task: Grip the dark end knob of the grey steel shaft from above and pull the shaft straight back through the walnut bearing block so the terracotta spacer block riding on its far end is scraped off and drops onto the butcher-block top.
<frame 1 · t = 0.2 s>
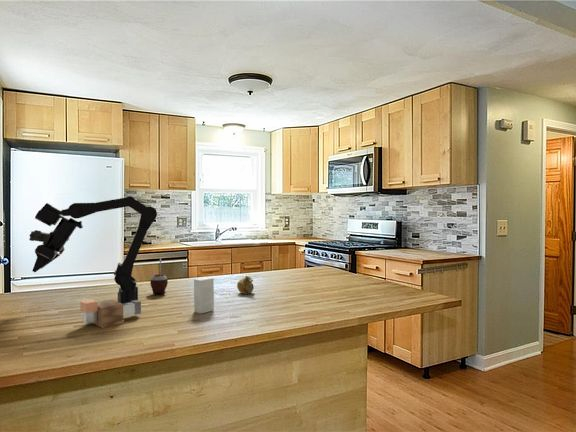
hand: (37, 269, 146), 15 cm above the countertop, tool tilted 30°, fingers open, 9 cm apart
skincare box: (203, 311, 147), on the countertop
bearing block: (106, 322, 133), on the countertop
spacer: (89, 310, 128), point 5 cm above the countertop, touching shaft
onion: (245, 293, 177), on the countertop
shaft: (112, 311, 134), point 3 cm above the countertop, slide at 0.0 cm, touching spacer
mate gourd: (158, 294, 175), on the countertop
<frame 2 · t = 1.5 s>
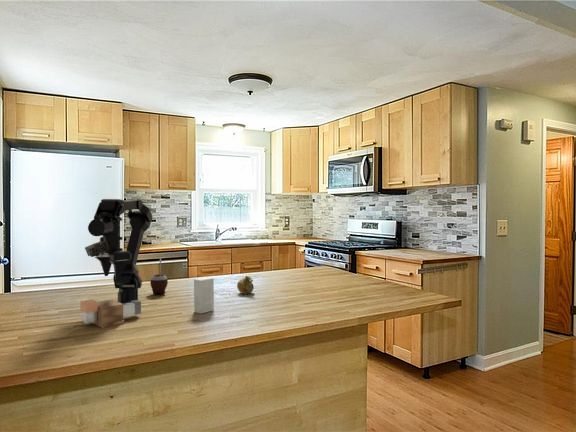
hand: (111, 277, 144), 12 cm above the countertop, tool pointing down, fingers open, 9 cm apart
nothing on the countertop moved.
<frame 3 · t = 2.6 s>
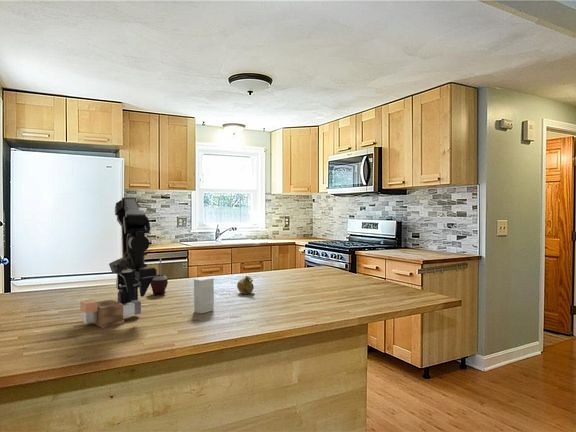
hand: (135, 294, 140), 8 cm above the countertop, tool pointing down, fingers open, 9 cm apart
nothing on the countertop moved.
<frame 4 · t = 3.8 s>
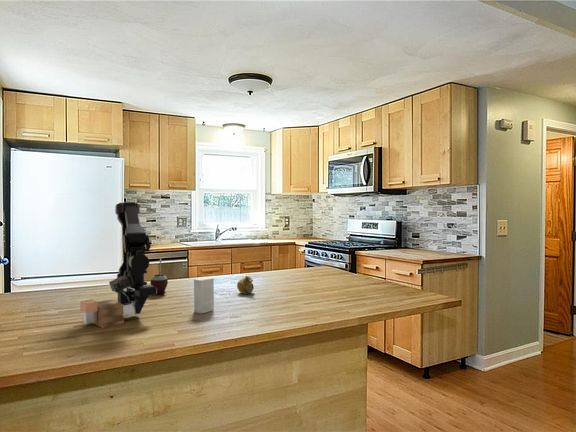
hand: (135, 312, 140), 1 cm above the countertop, tool pointing down, fingers closed on shaft, 3 cm apart
shaft: (112, 311, 134), point 3 cm above the countertop, slide at 0.0 cm, touching gripper, spacer
everything else where it was.
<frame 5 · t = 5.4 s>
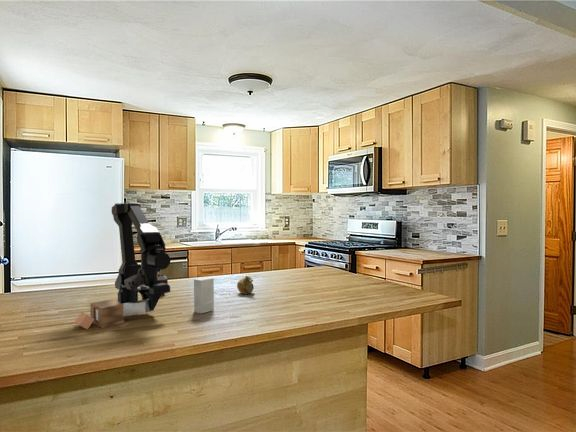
hand: (149, 309, 144), 1 cm above the countertop, tool pointing down, fingers closed on shaft, 3 cm apart
spacer: (88, 322, 128), point 1 cm above the countertop, tilted 51°
shaft: (124, 309, 137), point 3 cm above the countertop, slide at -3.9 cm, touching gripper
everything else where it was.
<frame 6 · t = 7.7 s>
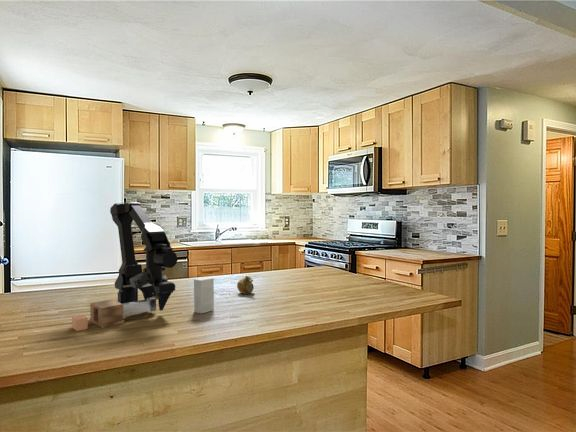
hand: (154, 308, 145), 2 cm above the countertop, tool pointing down, fingers open, 9 cm apart
spacer: (84, 321, 127), point 2 cm above the countertop, tilted 90°
shaft: (129, 308, 138), point 3 cm above the countertop, slide at -5.8 cm
everything else where it was.
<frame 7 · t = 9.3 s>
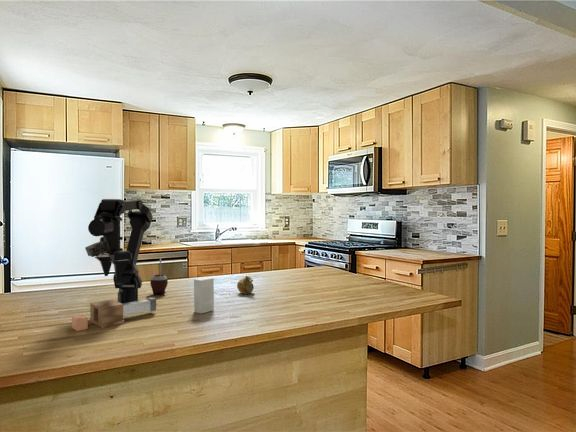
hand: (111, 277, 144), 12 cm above the countertop, tool pointing down, fingers open, 9 cm apart
nothing on the countertop moved.
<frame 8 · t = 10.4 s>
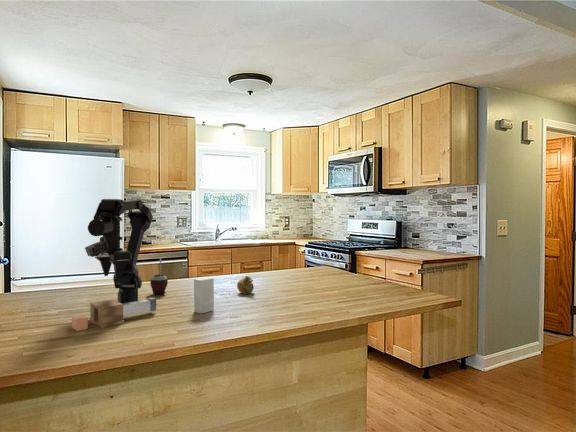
hand: (111, 277, 144), 12 cm above the countertop, tool pointing down, fingers open, 9 cm apart
nothing on the countertop moved.
at the end: shaft slide at -5.8 cm; spacer touching countertop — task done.
